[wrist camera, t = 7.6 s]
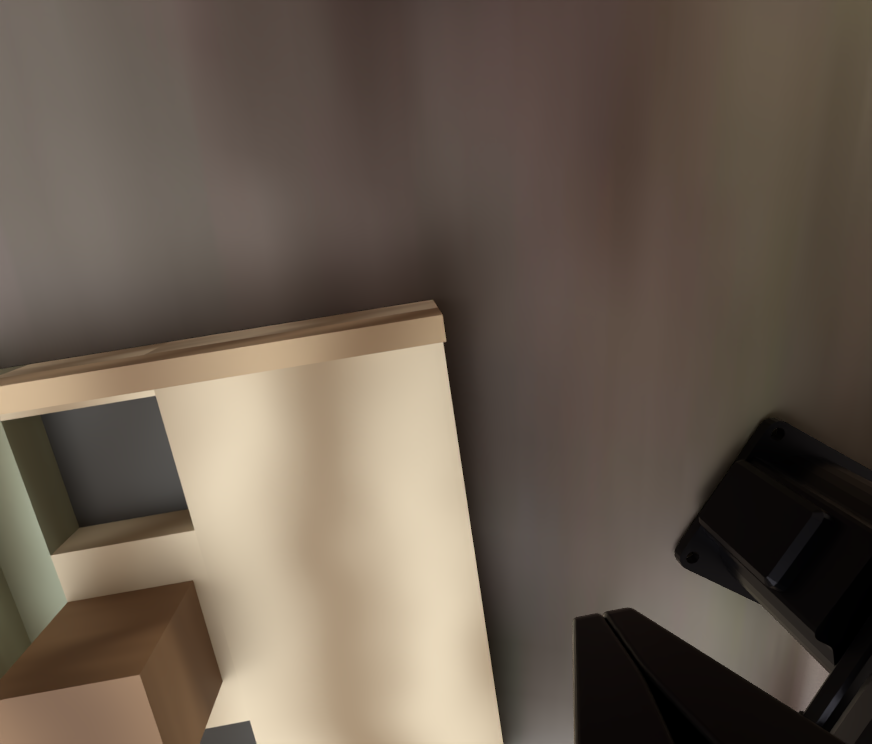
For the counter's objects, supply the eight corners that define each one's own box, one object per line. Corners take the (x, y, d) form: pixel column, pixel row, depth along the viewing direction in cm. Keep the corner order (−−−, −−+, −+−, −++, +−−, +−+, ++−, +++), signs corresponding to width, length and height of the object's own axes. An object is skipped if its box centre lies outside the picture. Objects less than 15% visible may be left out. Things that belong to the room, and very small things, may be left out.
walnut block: (193, 580, 18) (139, 674, 14) (222, 681, 19) (180, 795, 15) (67, 602, 18) (-21, 703, 14) (104, 703, 19) (31, 823, 15)
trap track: (432, 299, 19) (445, 320, 14) (501, 751, 23) (526, 870, 19) (-46, 376, 18) (-186, 422, 14) (125, 824, 23) (63, 964, 18)
